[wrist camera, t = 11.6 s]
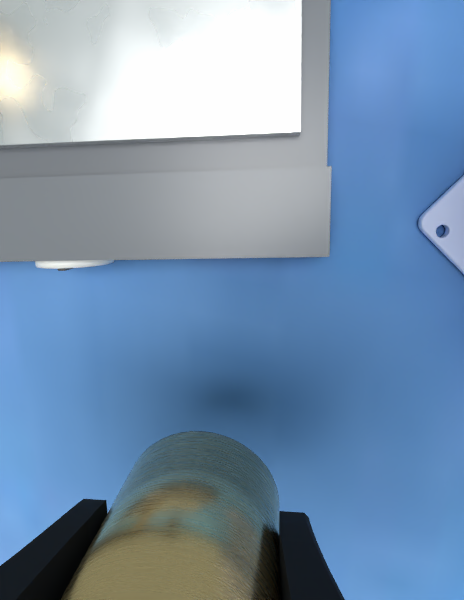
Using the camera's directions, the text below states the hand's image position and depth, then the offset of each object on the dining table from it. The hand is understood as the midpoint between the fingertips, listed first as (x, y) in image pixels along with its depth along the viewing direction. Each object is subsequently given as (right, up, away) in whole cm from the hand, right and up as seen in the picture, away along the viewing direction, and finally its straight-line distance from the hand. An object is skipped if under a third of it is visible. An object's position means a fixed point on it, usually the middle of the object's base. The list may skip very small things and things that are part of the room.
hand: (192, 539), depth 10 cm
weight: (0, 0, +1) cm, 1 cm away
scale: (-5, +15, +7) cm, 18 cm away
